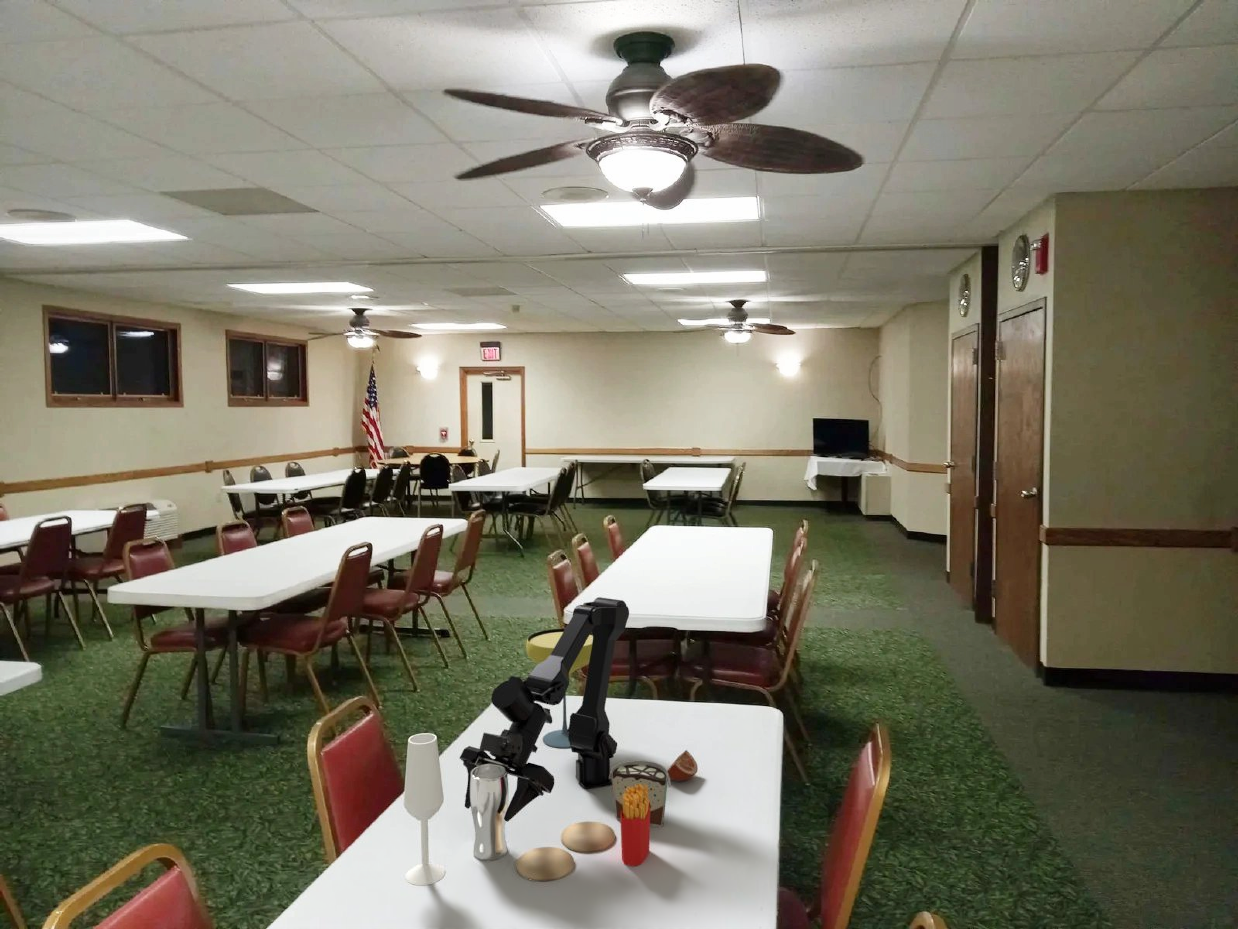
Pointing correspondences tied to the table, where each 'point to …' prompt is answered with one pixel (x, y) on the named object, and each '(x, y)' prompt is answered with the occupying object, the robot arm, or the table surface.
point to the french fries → (635, 825)
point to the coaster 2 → (587, 836)
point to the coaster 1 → (545, 864)
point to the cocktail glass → (541, 649)
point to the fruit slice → (683, 767)
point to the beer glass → (489, 810)
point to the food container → (643, 775)
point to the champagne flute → (423, 799)
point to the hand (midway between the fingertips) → (485, 814)
